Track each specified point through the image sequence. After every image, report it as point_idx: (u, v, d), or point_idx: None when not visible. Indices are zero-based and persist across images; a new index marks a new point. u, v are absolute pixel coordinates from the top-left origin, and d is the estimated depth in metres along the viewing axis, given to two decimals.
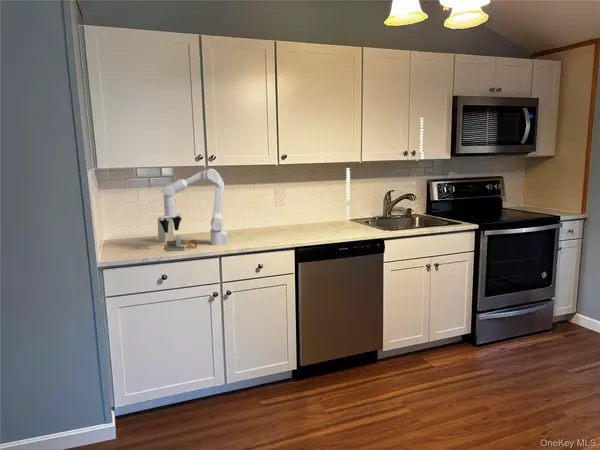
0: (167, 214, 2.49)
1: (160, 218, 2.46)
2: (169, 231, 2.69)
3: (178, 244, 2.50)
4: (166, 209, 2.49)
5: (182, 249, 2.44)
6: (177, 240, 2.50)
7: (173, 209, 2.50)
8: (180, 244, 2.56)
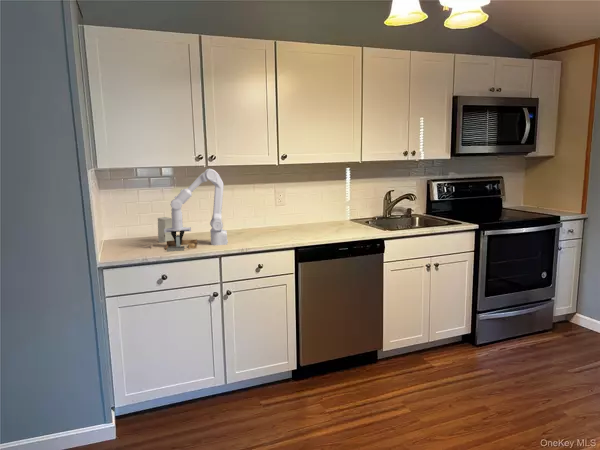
0: (172, 227, 2.51)
1: (164, 230, 2.51)
2: None
3: (178, 244, 2.50)
4: (172, 222, 2.51)
5: (182, 249, 2.44)
6: (177, 240, 2.50)
7: (176, 223, 2.49)
8: None
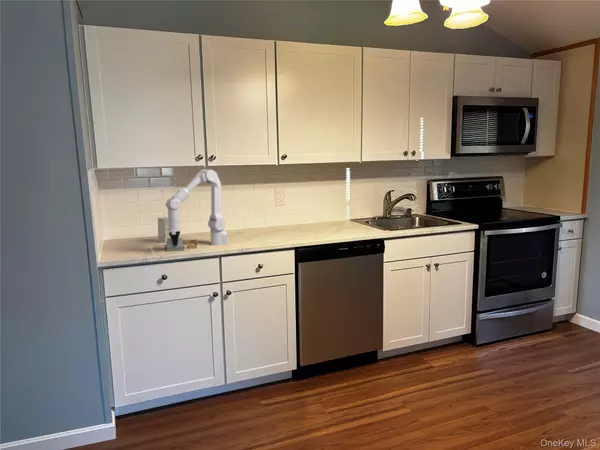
0: (175, 227, 2.41)
1: (173, 232, 2.37)
2: (170, 231, 2.69)
3: (182, 244, 2.46)
4: (174, 222, 2.41)
5: (182, 249, 2.44)
6: (182, 240, 2.45)
7: (179, 222, 2.44)
8: None
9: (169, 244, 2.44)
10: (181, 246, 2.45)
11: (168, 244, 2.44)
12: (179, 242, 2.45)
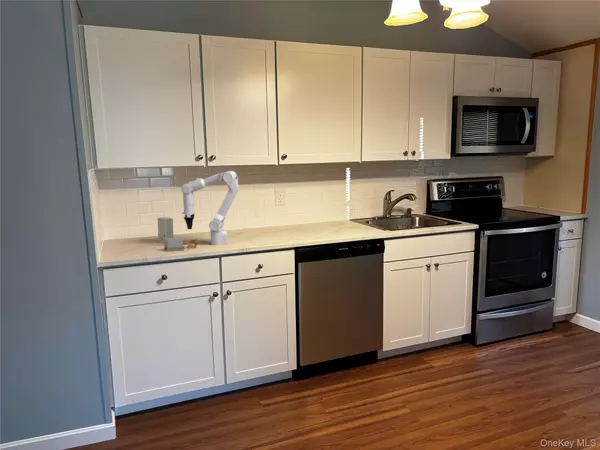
0: (190, 211, 2.56)
1: (188, 215, 2.51)
2: (169, 231, 2.69)
3: (182, 244, 2.46)
4: (189, 206, 2.55)
5: (182, 249, 2.44)
6: (182, 240, 2.45)
7: (193, 206, 2.58)
8: None
9: (169, 244, 2.44)
10: (181, 246, 2.45)
11: (168, 244, 2.44)
12: (179, 242, 2.45)
